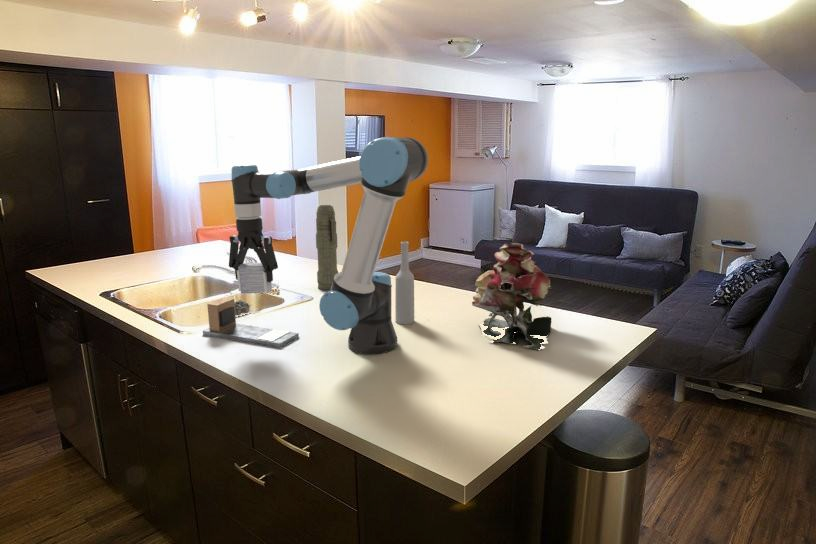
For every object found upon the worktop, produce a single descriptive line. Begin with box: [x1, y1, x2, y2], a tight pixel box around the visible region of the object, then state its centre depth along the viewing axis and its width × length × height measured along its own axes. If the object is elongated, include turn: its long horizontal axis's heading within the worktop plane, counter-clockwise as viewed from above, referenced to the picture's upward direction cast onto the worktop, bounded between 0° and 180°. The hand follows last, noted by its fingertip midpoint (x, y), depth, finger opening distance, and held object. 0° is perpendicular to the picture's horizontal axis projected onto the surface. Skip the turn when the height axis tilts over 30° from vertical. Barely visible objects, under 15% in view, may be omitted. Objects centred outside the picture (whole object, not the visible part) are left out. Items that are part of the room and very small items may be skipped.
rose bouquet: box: [471, 242, 554, 351], centre depth 180 cm, size 26×29×30 cm
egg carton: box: [234, 299, 252, 316], centre depth 205 cm, size 11×8×4 cm
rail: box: [202, 297, 300, 349], centre depth 180 cm, size 30×10×10 cm, turn 67°
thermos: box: [315, 204, 339, 291], centre depth 235 cm, size 9×12×35 cm
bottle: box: [394, 241, 415, 325], centre depth 192 cm, size 7×7×28 cm
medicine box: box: [238, 262, 266, 295], centre depth 171 cm, size 8×4×9 cm, turn 93°
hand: (255, 291), depth 172 cm, fingers closed on medicine box, 9 cm apart
